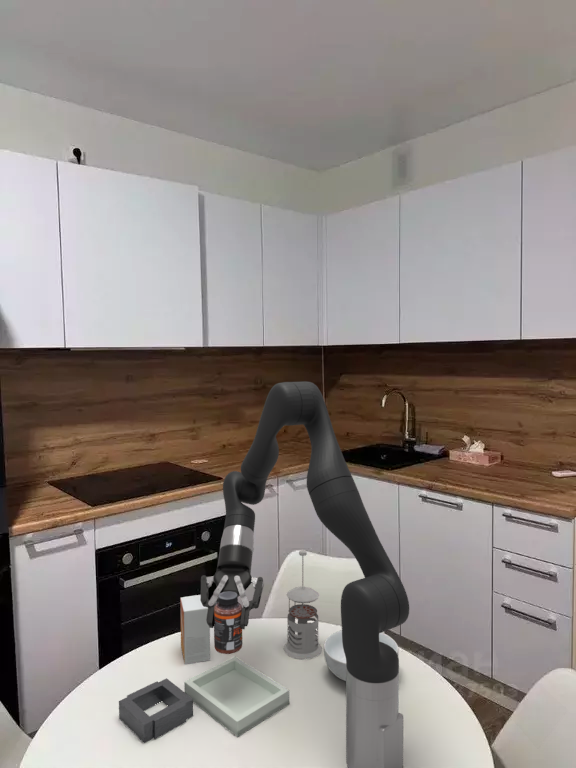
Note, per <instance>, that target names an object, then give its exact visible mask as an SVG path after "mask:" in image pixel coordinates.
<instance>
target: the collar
mask: <svg viewBox="0 0 576 768" xmlns="http://www.w3.org/2000/svg"><path fill="white" fill-rule="evenodd" d="M161 701H163V702H161ZM159 702H160V703H163V704H164V705H165V706H167V705H168V706H167V707H165V708H163V709H160V710H159V711H157V712H156V713H153V714H151V715H150V716H149V714H147V713H146V710H148V709H150V708H152V707H154V706H156V705H158V704H160V703H159ZM157 703H158V704H157ZM155 704H156V705H155ZM144 710H145V711H144ZM193 717H194V702H193V699H192V698H191V697H190V696H189V695H187V694H186V693H185V692H184V690H182V689H181V688H180V687H178V686H177V685H176V684H174V683H173V682H172V681H171V680H169V679H168V678H164V679H162V680H160V681H154V682H153V683H151V684H148V685H147V686H144V687H142V688H140V689H138V690H136V691H134V692H131V693H129V694H127V695H126V697H124V698H123V699H120V700H118V718H119V719H120V721H121V722H122V723H123V724H124V725H126V727H127V728H128V729H129V730H130V731H131V732H132V733H134V735H135V736H137V738H138V739H139V740H140V741H141V742H142V743H143V744H145V743H147V742H149V741H151V740H153V739H154V740H157V739H158V738H160V737H162V736H164V735H166V734H168V733H169V732H171V731H173V730H175V729H176V728H178V727H180V726H182V725H183V724H185V723H187V720H188V719H190V718H193Z"/></svg>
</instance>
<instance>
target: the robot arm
mask: <svg viewBox="0 0 576 768" xmlns="http://www.w3.org/2000/svg"><path fill="white" fill-rule="evenodd" d="M300 425H301V426H304V427H305V430H306V431H307V434H308V438H309V441H310V446H311V453H310V459H309V465H308V467H307V472H306V473H307V474H306V489H307V493H308V495H309V497H310V498H309V499H310V500H311V503H312V505H313V506H312V507H313V508H314V511H315V514H316V516H317V517H318V519H319V520H320V522H321V524H322V525H324V527H325V528H326V529H327V530H328V531H329V533H332V534H333V535H334V537H336V538H337V539H338V540H339V541H341V543H343V544H344V545H345V546H346V548H347V549H348V550H349V551H350V552H351V553H352V555H353V556H354V559H356V561H357V563H358V565H359V568H360V569H361V572H362V574H363V576H364V577H362V578H360V579H357V580H354V581H351V582H348V583H347V584H346V585H345V586H344V588H343V590H342V593H341V598H340V622H341V630H342V643H343V649H344V653H345V657H346V681H345V690H346V691H345V701H346V702H345V750H346V751H345V760H346V765H347V768H403V767H404V715H403V714H402V713H401V712H399V708H400V707H399V705H400V704H399V703H400V702H399V699H400V698H399V695H400V694H399V693H400V692H399V691H400V690H399V689H400V688H399V687H400V686H399V685H400V682H399V681H400V672H399V671H400V659H399V654H398V655H397V653H396V651H395V650H394V649H393V648H392V647H390V646H389V645H387V644H385V643H383V642H379V633H384V632H387V631H389V630H391V629H394V628H396V627H397V628H398V627H400V626H402V625H403V624H404V623H406V621H407V620H408V618H409V617H410V616H409V615H410V601H409V598H408V594H407V591H406V589H405V586H404V584H403V582H402V579H401V578H400V576H399V574H398V572H397V571H396V569H395V567H394V565H393V563H392V561H391V560H390V557H389V555H388V554H387V552H386V550H385V548H384V546H383V544H382V543H381V540H380V539H379V538H380V537H378V534H377V531H376V530H375V528H374V525H373V523H372V521H371V519H370V517H369V513H368V511H367V510H366V508H365V505H364V503H363V500H362V497H361V495H360V491H359V489H358V486H357V485H356V483H355V479H354V477H353V475H352V474H351V472H350V469H349V466H348V465H347V462H346V460H345V458H344V455H343V452H342V450H341V447H340V445H339V442H338V439H337V436H336V434H335V431H334V428H333V424H332V421H331V418H330V414H329V411H328V408H327V405H326V402H325V399H324V397H323V394H322V392H321V390H320V389H319V387H318V385H317V384H315V383H314V382H311V381H283V382H278V383H275V384H274V385H273V386H272V387H271V389H270V390H269V392H268V394H267V397H266V400H265V402H264V406H263V409H262V411H261V415H260V419H259V421H258V425H257V428H256V433H255V435H254V438H253V441H252V444H251V446H250V448H249V449H248V451H247V453H246V455H245V456H244V458H243V460H242V462H241V465H240V471H237V470H236V471H235V470H234V471H230V472H229V473H228V474H226V476H225V477H224V480H223V482H222V493H223V499H224V501H223V502H224V506H225V520H224V527H223V532H222V536H221V540H220V546H219V554H218V559H217V567H216V572H215V573H214V575H213V576H206V575H201V577H200V595H201V599H200V600H201V603H202V605H203V606H204V607H207V608H208V612H207V619H206V621H207V624H208V625H209V627H210V629H214V608H215V606H216V604H218V603H219V602H218V599H219V594H220V593H222V592H227V591H231V592H235V593H237V595H238V598H239V597H240V599H241V602H242V613H241V622H240V628H241V629H242V630H245V629H246V627H248V626H249V621H250V612H251V610H253V609H259V607H260V603H261V600H262V599H261V598H262V594H263V591H264V586H265V581H264V579H263V577H262V576H258V577H253V576H252V574H251V573H252V572H251V571H252V563H253V554H254V550H255V547H254V543H255V542H254V539H255V538H254V533H255V524H256V523H255V522H256V513H255V511H254V509H252V508H251V507H249V506H248V505H252V506H253V505H254V506H255V505H258V504H260V503H261V502H262V501H263V499H264V497H265V493H266V484H267V481H268V478H269V475H270V474H271V472H272V471H273V469H274V467H275V466H276V464H277V462H278V459H279V455H280V453H279V452H280V448H279V444H278V443H279V442H278V440H277V435H278V434H279V432H280V431H281V430H282V429H283V427H285V426H300ZM246 504H247V505H246ZM213 583H214V584H215V586H216V588H215V589H214V591H213V594H212V595H211V597H210V599H209V588H210V587H212V584H213ZM251 584H252V586H253V589H254V592H253V596H252V600H250V601H249V599H248V596H247V593H246V591H247V589H248V588H249V587H250V586H251Z"/></svg>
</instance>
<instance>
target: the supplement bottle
mask: <svg viewBox="0 0 576 768" xmlns="http://www.w3.org/2000/svg"><path fill="white" fill-rule="evenodd" d="M218 602H219V603H218V604H216V606H215V608H214V628H213V637H214V638H213V646H214V647H213V648H214V650H215V651H216V652H217V653H219V654H223V655H232V654H235V653H238V652H239V651H240V650H241V649H242V647H243V629H241V628H240V622H241V613H242V608H243V605H242V604H241V603H240V602H239V597H238V595H237V593H235V592H231V591H227V592H222V593H220V594H219V599H218Z"/></svg>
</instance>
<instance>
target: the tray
mask: <svg viewBox="0 0 576 768" xmlns="http://www.w3.org/2000/svg"><path fill="white" fill-rule="evenodd" d="M183 682H184V685H183V687H184V690H183V692H185V693H186V694H187V695H189V696H190V697H191V698H192V699H193V704H195V706H197V707H199V708H200V709H202V711H204V712H205V713H206V714H207V715H209V716H210V717H211V718H212V719H214V720H215V721H216V722H217V723H219V724H220V725H221V726H223V727H224V728H225V729H226V730H228V731H229V732H230V733H232V735H234V736H235V737H236V738H238V737H240V736H242V735H243V734H244V733H246V732H247V731H250V730H251V729H253V728H254V727H255V726H257V725H258V724H261V723H262V722H263V721H265V720H267V719H268V718H270V717H272V716H273V715H274V714H276V713H278V712H280V710H283V709H284V708H286V707H287V706H289V705H290V689H288V688H287V687H286V686H283V684H280V683H279V682H277V681H275V680H274V679H272V678H271V677H269V676H268V675H266V674H264V673H263V672H262V671H259V670H258V669H256V668H255V667H253V666H251V664H248V663H246V662H245V661H244V660H242V659H240V658H239V657H238V656H234V657H232V658H229V659H228V660H225V661H224V662H221V663H220V664H217V665H215V666H212V667H210V668H209V669H206V670H205V671H203V672H200V673H199V674H196V675H195V676H193V677H191V678H189V679H187V680H184V681H183Z"/></svg>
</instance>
